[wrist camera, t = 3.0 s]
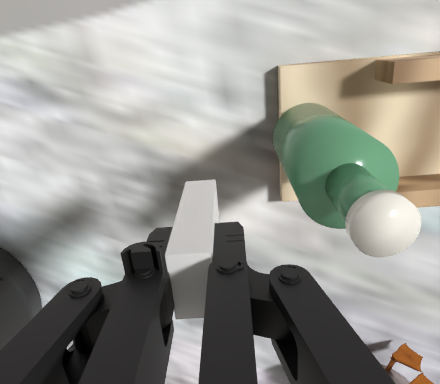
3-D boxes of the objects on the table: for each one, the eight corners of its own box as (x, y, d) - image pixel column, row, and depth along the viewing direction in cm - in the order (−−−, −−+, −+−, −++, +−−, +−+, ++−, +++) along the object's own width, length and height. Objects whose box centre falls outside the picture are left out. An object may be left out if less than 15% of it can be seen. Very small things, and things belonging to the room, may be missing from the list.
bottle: (273, 171, 29) (317, 285, 16) (271, 105, 27) (321, 171, 13) (338, 166, 29) (442, 278, 15) (342, 99, 27) (466, 160, 13)
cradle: (280, 195, 31) (292, 230, 26) (277, 65, 27) (292, 72, 21) (534, 177, 30) (605, 208, 25) (574, 39, 26) (671, 39, 20)
